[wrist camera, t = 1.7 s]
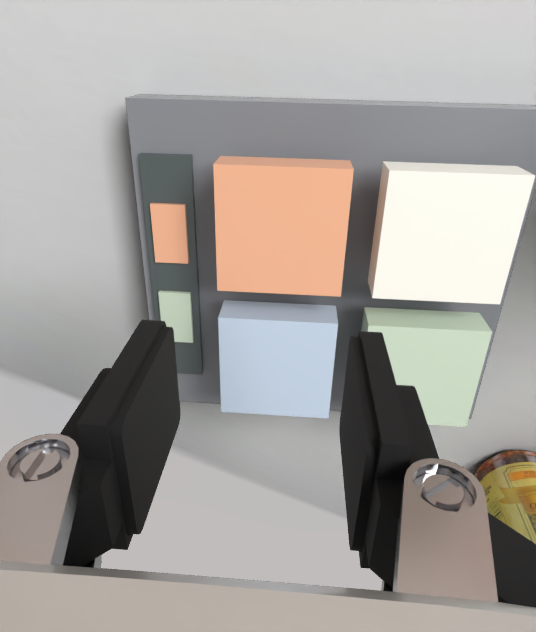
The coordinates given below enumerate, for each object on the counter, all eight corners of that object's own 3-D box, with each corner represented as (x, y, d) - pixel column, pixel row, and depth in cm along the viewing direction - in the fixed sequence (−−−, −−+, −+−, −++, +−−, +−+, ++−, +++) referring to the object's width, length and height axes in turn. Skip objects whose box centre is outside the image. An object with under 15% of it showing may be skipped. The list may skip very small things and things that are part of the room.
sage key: (479, 312, 26) (492, 331, 24) (456, 403, 28) (466, 426, 27) (364, 307, 26) (368, 325, 24) (352, 397, 29) (355, 420, 27)
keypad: (534, 105, 24) (563, 111, 22) (459, 394, 33) (473, 425, 30) (141, 94, 25) (120, 98, 23) (167, 377, 34) (155, 406, 31)
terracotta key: (350, 160, 22) (353, 169, 21) (338, 279, 25) (340, 296, 23) (220, 155, 23) (213, 164, 21) (223, 274, 26) (217, 290, 24)
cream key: (517, 165, 22) (535, 175, 20) (486, 286, 25) (499, 304, 23) (383, 161, 22) (389, 170, 21) (367, 281, 25) (372, 298, 23)
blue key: (335, 305, 26) (338, 323, 24) (327, 396, 29) (328, 418, 27) (224, 300, 26) (218, 317, 24) (226, 390, 29) (221, 411, 27)
